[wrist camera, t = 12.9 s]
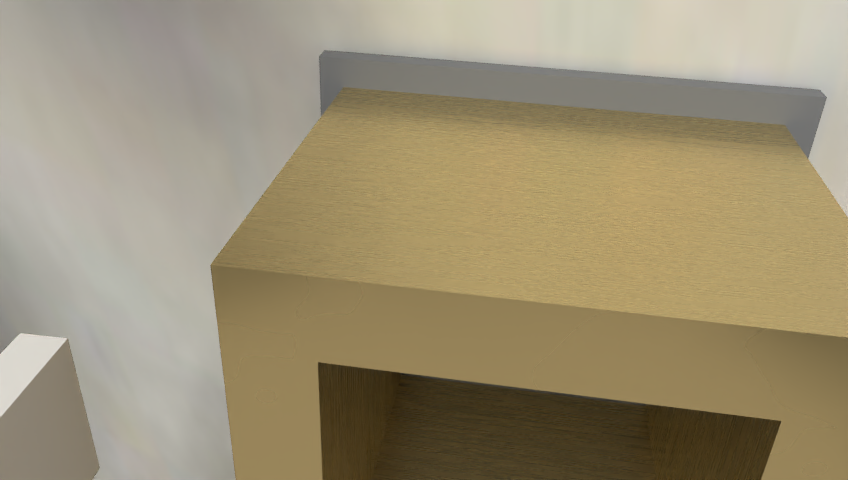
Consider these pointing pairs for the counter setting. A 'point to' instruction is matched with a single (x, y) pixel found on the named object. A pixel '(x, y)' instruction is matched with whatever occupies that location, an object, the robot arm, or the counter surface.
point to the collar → (536, 299)
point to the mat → (574, 98)
